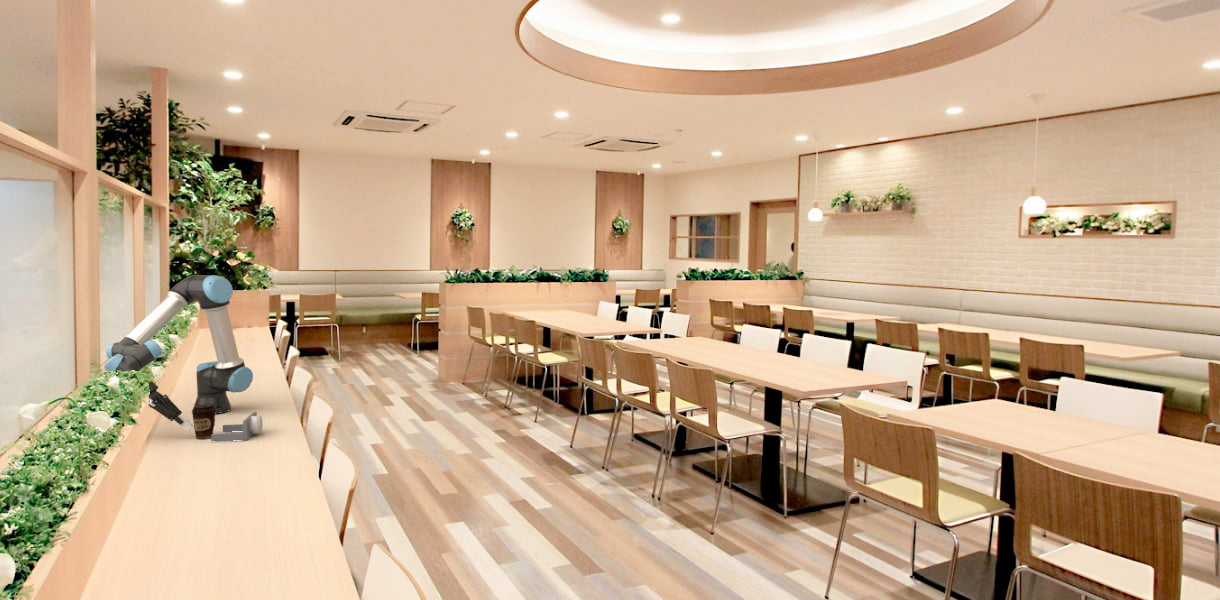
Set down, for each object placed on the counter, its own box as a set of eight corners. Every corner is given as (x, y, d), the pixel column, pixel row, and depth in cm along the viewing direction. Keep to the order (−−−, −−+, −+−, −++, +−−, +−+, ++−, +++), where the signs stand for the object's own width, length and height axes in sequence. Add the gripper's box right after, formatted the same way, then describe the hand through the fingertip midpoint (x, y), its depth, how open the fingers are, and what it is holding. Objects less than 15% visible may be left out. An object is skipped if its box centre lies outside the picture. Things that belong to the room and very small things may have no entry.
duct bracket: (223, 432, 295) (223, 413, 294) (265, 430, 298) (264, 411, 298) (211, 442, 280) (210, 422, 279) (255, 440, 283) (255, 420, 283)
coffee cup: (211, 439, 283) (210, 407, 282) (189, 440, 281) (187, 408, 280) (220, 434, 291) (218, 402, 290) (198, 434, 290) (196, 403, 289)
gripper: (142, 390, 285) (189, 430, 290) (127, 397, 272) (176, 439, 277) (156, 377, 286) (203, 417, 290) (142, 383, 273) (191, 425, 278)
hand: (190, 428), depth 284 cm, fingers closed
